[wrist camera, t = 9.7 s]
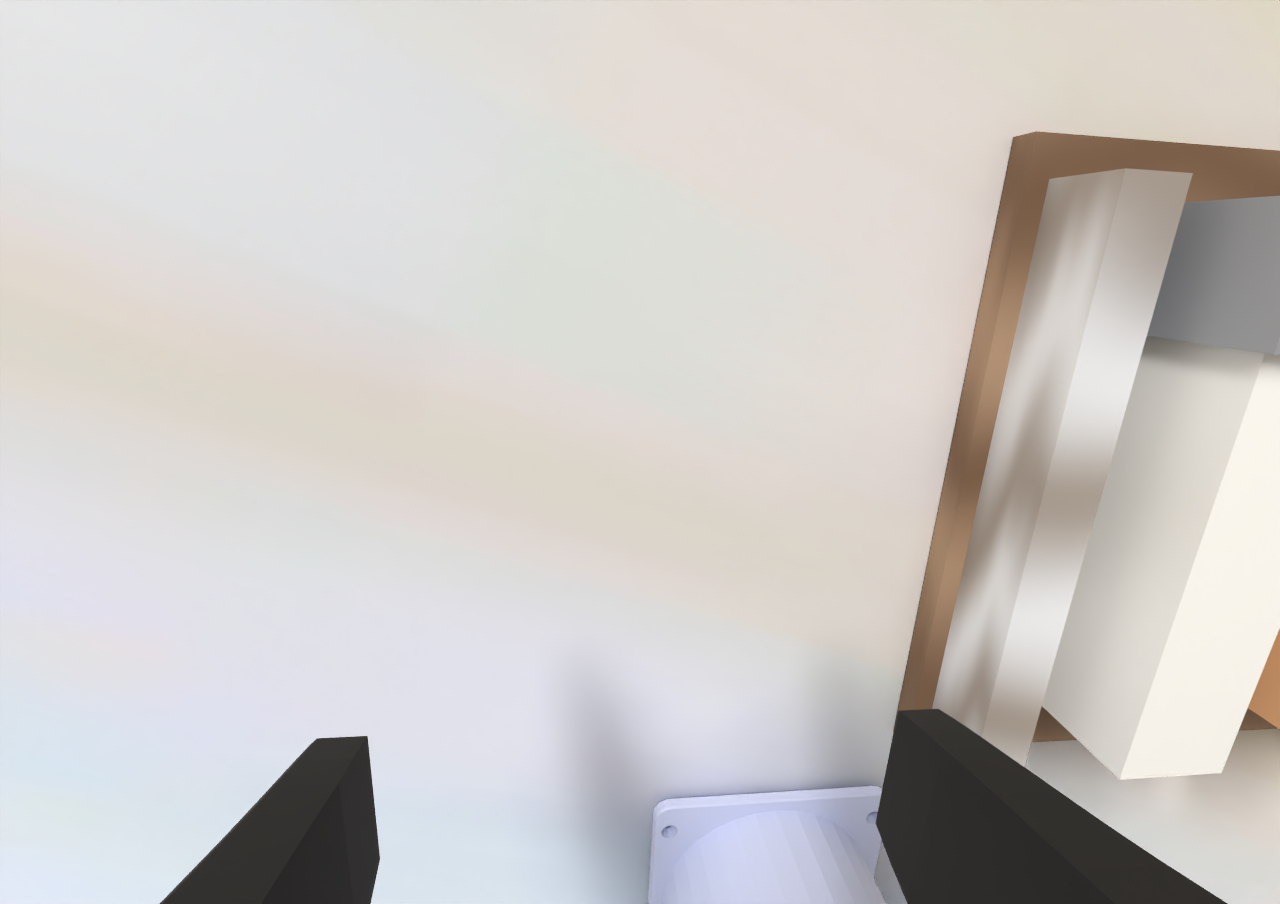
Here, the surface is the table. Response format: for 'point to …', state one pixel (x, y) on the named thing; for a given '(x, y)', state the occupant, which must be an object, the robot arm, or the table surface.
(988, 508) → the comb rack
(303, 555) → the table surface
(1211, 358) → the capped white pillar
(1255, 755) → the table surface
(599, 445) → the table surface
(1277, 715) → the capped square column
